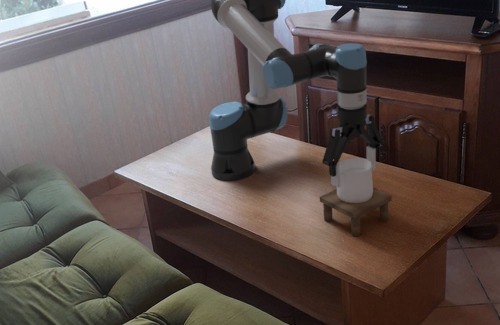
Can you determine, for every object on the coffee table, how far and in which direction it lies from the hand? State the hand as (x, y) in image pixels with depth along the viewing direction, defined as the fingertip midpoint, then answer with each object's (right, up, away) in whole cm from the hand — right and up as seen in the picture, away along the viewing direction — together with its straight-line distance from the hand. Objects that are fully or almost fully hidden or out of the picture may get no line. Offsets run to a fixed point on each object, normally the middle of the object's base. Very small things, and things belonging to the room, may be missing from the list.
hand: (353, 177), depth 164 cm
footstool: (+2, -12, +5) cm, 13 cm away
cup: (+1, -6, +2) cm, 6 cm away
